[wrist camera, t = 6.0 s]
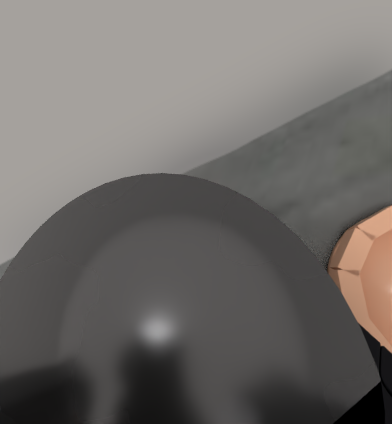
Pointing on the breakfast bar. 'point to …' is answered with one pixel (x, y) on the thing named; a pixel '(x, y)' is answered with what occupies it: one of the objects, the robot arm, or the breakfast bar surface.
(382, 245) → the bowl
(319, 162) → the breakfast bar surface
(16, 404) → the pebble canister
